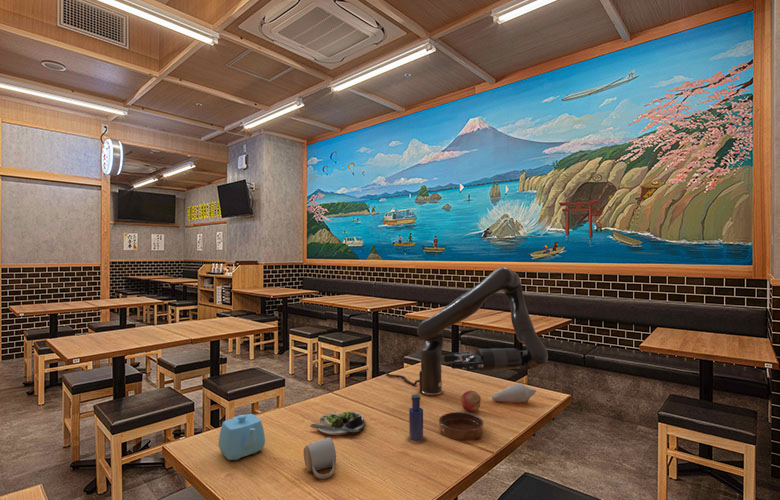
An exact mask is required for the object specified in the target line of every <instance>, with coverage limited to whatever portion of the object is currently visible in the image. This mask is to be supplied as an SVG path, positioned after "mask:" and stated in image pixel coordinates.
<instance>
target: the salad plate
mask: <svg viewBox="0 0 780 500" xmlns="http://www.w3.org/2000/svg"><path fill="white" fill-rule="evenodd" d="M309 426H310V428H313V429H316V430H318V431H320V432H321V433H322V434H325V435H328V436H349V435H356V434H358V433H360V432H362V431H363V429H364V427H365V421H364V417H363V415H362V413H360V412H355V411H343V412H339V413H327V414H324V415H322V416H321V417H319V418H318V423H317V424H316V423H312V424H311V423H310V425H309Z"/></svg>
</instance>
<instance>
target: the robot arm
mask: <svg viewBox="0 0 780 500" xmlns="http://www.w3.org/2000/svg"><path fill="white" fill-rule="evenodd" d="M522 287H523V286H522V282H521V279H520V276H519V275H518V273H517V272H515V271H514V270H512V269H509V268H507V267H503V266H502V267H498V268H495V269H494V270H493V271H492V272H490V273H489V274H488V275H487V276H486V277H485V278H483V279H482V280H481V281H480V282H479V283H478V284H476V285H474V286H473V287H472V288H469V290H467V291H466V292H464V293H463V294H461V295H459V296H458V297H457V298H455V299H454V300H452V301H451V302H450V303H449V304H447V305H446V306H444V307H443V308H442V309H441V310H440V311H439V312H437V313H435V314H434V315H432V316H431V317H428V318H427V319H424V320H422V321H421V322H419V324H418V326H417V328H416V333H417V336H418V337H419V339H420V340H422V341H424V343H423V345H422V347H421V348H420V371H419V379H418V380H417V379H416V380H415V381H414V382H411V381H410V380H409V379H407V378H406V377H405V376H403V375H400V374H391V373H389V372H388V371H387V370H383V371H382V372H381V373H382V374H384V373H385V374H386V375H387V376H389V377H393V378H401V379H403V380H404V381H405V382H406V383H407V384H409V385H411V386H417V384H419V393H420V394H423V395H425V396H429V397H430V396H431V397H434V396H440V395H442V393H443V387H442V386H443V381H442V350H443V347H444V330H445V329H447V328H448V327H451V326H453V325H456V324H459V323H460V322H462V321H464V320H467V319H468V318H469V317H471V316H473V315H474V314H476V313H477V312H479V310H480V308H481V307H482V306H483V304H484V302H485V301H486V300H487V299H488V298H489V297H491V296H493V295H494V294H496V293H498V292H500V291H501V292H504V294H505V296H506V299H507V301H508V303H509V307H510V320H511V324H512V327H513V330H514V333H515V335H516V338H517V340H518V342H519V343H521V344H524V346H525V347H526V349H525V350H519V349H517V348H513V347H508V348H507V347H506V348H496V347H495V348H494V347H493V348H479V349H477V350H476V352H475V354H473V353H471V352H470V351H467V352H466V351H463V352H453V354H446V355H443V361H444V363H450V368H451V369H452V370H454V369H462V370H466V371H480V372H490V371H501V370H511V369H512V370H513V369H520V370H535V369H537V368H540V367H541V366H543V365H544V364H546V363H547V362H548V360H549V355H548V354H549V353H548V350H547V347H546V346H545V344H544V343H543V341H542V340H541V338H540V337H539V335H537V332H536V329H535V327H534V325H533V322H532V319H531V316H530V314H529V311H528V308H527V305H526V301H525V297H524V293H523V292H524V291H523V288H522Z"/></svg>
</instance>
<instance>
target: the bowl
mask: <svg viewBox="0 0 780 500" xmlns="http://www.w3.org/2000/svg"><path fill="white" fill-rule="evenodd" d="M438 421H439V422H438V431H439V432H440V434H441V435H443V436H444V437H446V438H449V439H451V440H455V441H464V442H465V441H473V440H478V439H479V438H481V437H483V435H484V434H485V429H484V428H485V427H484V420H483V419H482V418H481V417H480V416H478V415H475V414H473V413H471V412H463V411H456V412H455V411H454V412H448V413H444V414H442V415H441V416H440V417H439V420H438Z"/></svg>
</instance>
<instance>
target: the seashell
mask: <svg viewBox="0 0 780 500" xmlns="http://www.w3.org/2000/svg"><path fill="white" fill-rule="evenodd" d="M536 393H537V389H535V388H531V387H529V386H526V385H524V384H523V383H515V384H512V385H510V386H507V387H505V388H502V389H501V390H499V391H498V392H496V393H494V394H492V395H491V400H492V401H495V402H502V403H512V404H513V403H515V404H516V403H517V404H519V403H527V402H528V401H530V399H531V398H532V397H533V395H534V394H536Z"/></svg>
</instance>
